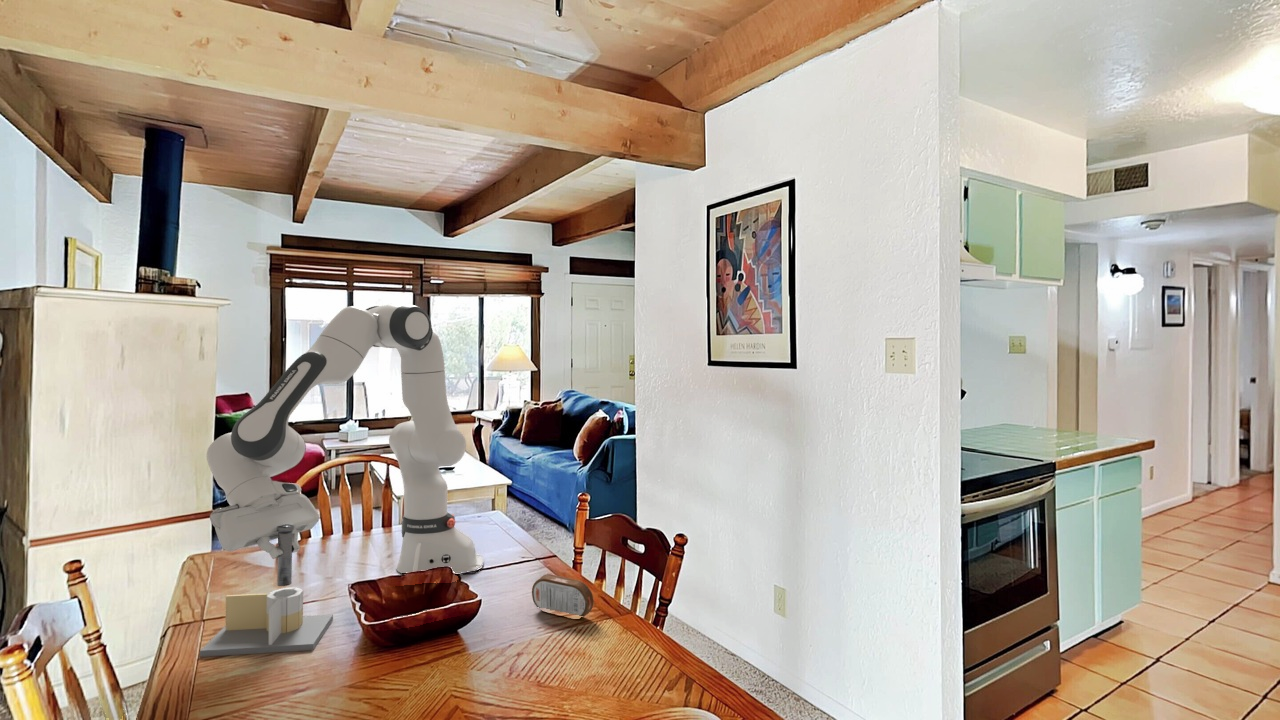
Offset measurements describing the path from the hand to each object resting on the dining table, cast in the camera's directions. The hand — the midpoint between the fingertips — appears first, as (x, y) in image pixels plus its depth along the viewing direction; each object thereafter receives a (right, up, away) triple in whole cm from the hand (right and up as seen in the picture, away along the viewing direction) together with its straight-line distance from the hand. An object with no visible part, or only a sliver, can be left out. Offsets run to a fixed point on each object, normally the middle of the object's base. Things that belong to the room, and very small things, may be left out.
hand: (287, 553), depth 134 cm
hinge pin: (-1, -6, 0) cm, 6 cm away
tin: (+55, -18, +13) cm, 59 cm away
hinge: (-2, -17, -2) cm, 17 cm away
